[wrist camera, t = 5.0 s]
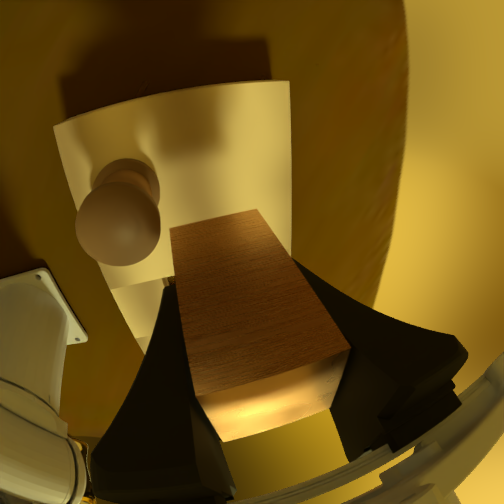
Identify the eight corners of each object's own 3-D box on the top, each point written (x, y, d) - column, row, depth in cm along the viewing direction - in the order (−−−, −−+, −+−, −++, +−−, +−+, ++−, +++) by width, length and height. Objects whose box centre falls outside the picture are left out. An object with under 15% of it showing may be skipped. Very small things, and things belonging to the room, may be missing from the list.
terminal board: (144, 333, 23) (149, 399, 18) (67, 118, 12) (19, 146, 7) (278, 302, 25) (307, 360, 20) (272, 79, 15) (329, 86, 10)
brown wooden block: (188, 294, 13) (223, 442, 7) (169, 228, 11) (195, 396, 5) (261, 275, 14) (330, 407, 8) (256, 208, 11) (351, 347, 6)
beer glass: (49, 432, 30) (53, 514, 18) (89, 439, 33) (97, 521, 22) (56, 444, 33) (61, 517, 21) (91, 450, 36) (100, 523, 25)
